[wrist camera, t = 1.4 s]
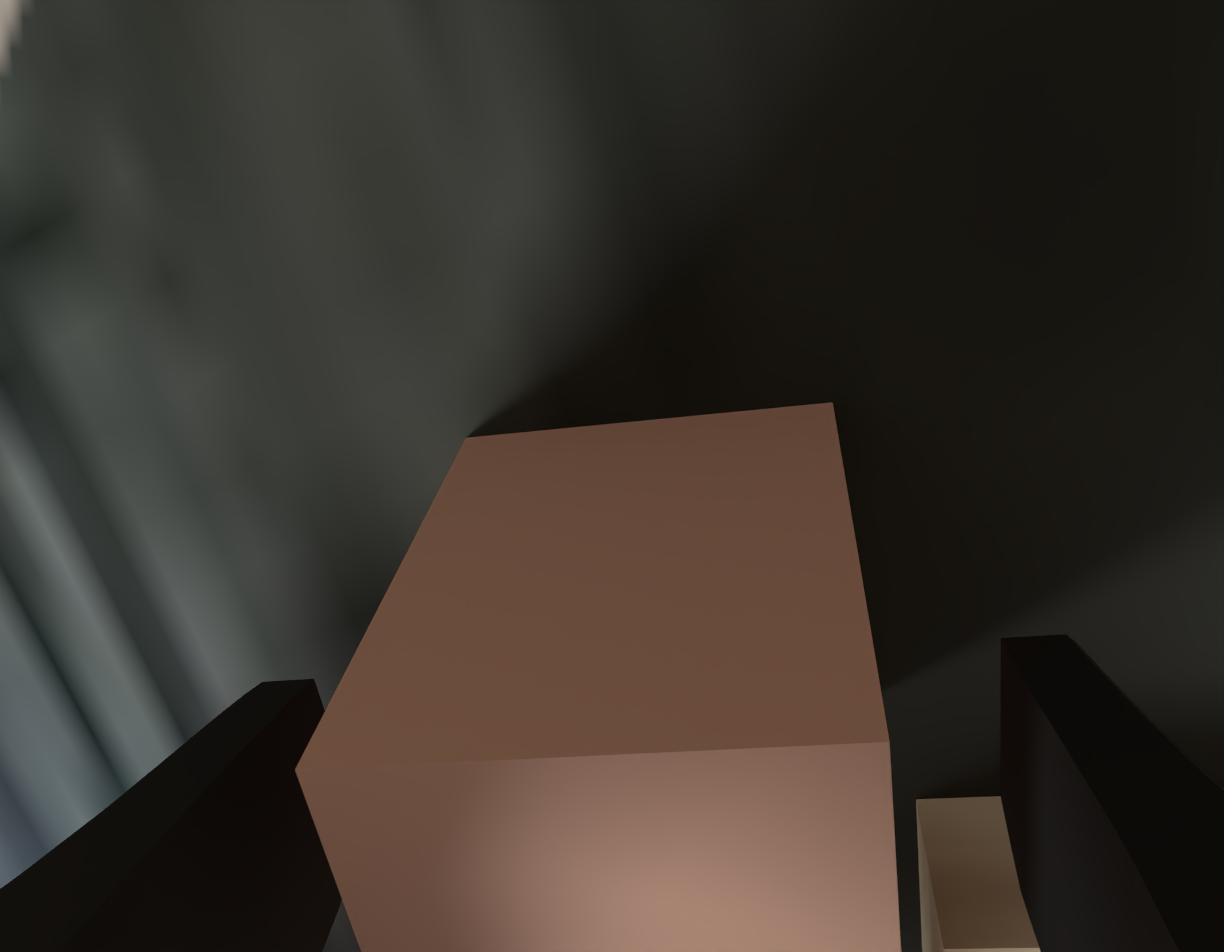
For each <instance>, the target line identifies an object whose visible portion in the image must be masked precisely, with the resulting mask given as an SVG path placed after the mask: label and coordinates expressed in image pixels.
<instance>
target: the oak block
mask: <svg viewBox="0 0 1224 952" xmlns="http://www.w3.org/2000/svg"><path fill="white" fill-rule="evenodd" d="M1223 789H1224V788H1223ZM916 811H917V835H918V860H919V885H920V909H921V934H922V952H1041V951H1040V948H1039V945H1038V942H1037V939H1036V936H1035V933H1034V930H1033V927H1032V924H1031V921H1030V918H1029V915H1028V912H1027V909H1026V906H1025V903H1024V900H1023V897H1022V894H1021V891H1020V886H1019V881H1018V877H1017V872H1016V868H1015V863H1014V859H1013V854H1012V850H1011V845H1010V840H1009V835H1008V830H1007V825H1006V821H1005V816H1004V811H1003V806H1002V801H1001V796H994V797H967V798H939V799H916Z"/></svg>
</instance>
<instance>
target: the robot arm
mask: <svg viewBox="0 0 1224 952" xmlns="http://www.w3.org/2000/svg"><path fill="white" fill-rule="evenodd" d="M324 712H325V710H324V707H323V704H322V701H321V698H320V695H319V693H318V690H317V687H316V684H315V681H314V679H304V680H287V681H270V682H262V683H260V684H259V685H257V686H256V687H255V688H253V689H252V690H250V691H249V692H248V693H246V694H245V695H244V696H242V697H241V698H240V699H238V700H237V701H236V702H235V703H233V704H232V705H231V706H229V707H228V708H227V709H226V710H224V711H223V712H222V713H221V714H220V715H218V716H217V717H216V718H215V719H213V720H212V721H211V722H210V723H209V724H207V725H206V726H205V727H204V728H203V729H201V730H200V731H199V732H198V733H196V734H195V735H194V736H193V737H192V738H190V739H189V740H188V741H187V742H186V743H184V744H183V745H182V746H181V747H180V748H178V749H177V750H176V751H175V752H174V753H173V754H171V755H170V756H169V757H168V758H166V759H165V760H164V761H163V762H162V763H160V764H159V765H158V766H157V767H156V768H154V769H153V770H152V771H151V772H150V773H148V774H147V775H146V776H145V777H143V778H142V779H141V780H140V781H139V782H137V783H136V784H135V785H134V786H133V787H131V788H130V789H129V790H128V791H126V792H125V793H124V794H123V795H122V796H120V797H119V798H118V799H117V800H116V801H114V802H113V803H112V804H111V805H109V806H108V807H107V808H106V809H105V810H103V811H102V812H101V813H99V814H98V815H97V816H96V817H94V818H93V819H92V820H90V821H89V822H88V823H86V824H85V825H84V826H83V827H81V828H80V829H79V830H77V831H76V832H75V833H73V834H72V835H71V836H70V837H68V838H67V839H66V840H64V841H63V842H62V843H60V844H59V845H58V846H57V847H55V848H54V849H53V850H51V851H50V852H49V853H47V854H46V855H45V856H44V857H42V858H41V859H40V860H38V861H37V862H36V863H34V864H33V865H32V866H31V867H29V868H28V869H27V870H25V871H24V872H23V873H21V874H20V875H19V876H17V877H16V878H15V879H13V880H12V881H11V882H9V883H8V884H6V885H5V886H4V887H2V888H1V889H0V952H322V950H323V948H324V945H325V943H326V940H327V938H328V935H329V933H330V930H331V928H332V925H333V922H334V920H335V917H336V914H337V912H338V909H339V907H340V903H341V899H342V898H341V895H340V892H339V890H338V887H337V884H336V881H335V879H334V876H333V873H332V870H331V868H330V865H329V862H328V859H327V857H326V854H325V851H324V848H323V846H322V843H321V840H320V837H319V835H318V832H317V829H316V826H315V824H314V821H313V818H312V815H311V813H310V810H309V807H308V804H307V802H306V799H305V796H304V794H303V791H302V788H301V785H300V783H299V780H298V777H297V774H296V772H295V769H296V767H297V765H298V763H299V761H300V759H301V757H302V755H303V753H304V751H305V749H306V747H307V745H308V743H309V742H310V740H311V738H312V736H313V734H314V732H315V730H316V728H317V726H318V724H319V722H320V720H321V718H322V716H323V714H324ZM1000 796H1001V801H1002V806H1003V811H1004V816H1005V821H1006V825H1007V830H1008V835H1009V840H1010V845H1011V850H1012V854H1013V859H1014V863H1015V868H1016V872H1017V877H1018V881H1019V886H1020V891H1021V894H1022V897H1023V900H1024V903H1025V906H1026V909H1027V912H1028V915H1029V918H1030V921H1031V924H1032V927H1033V930H1034V933H1035V936H1036V939H1037V942H1038V945H1039V948H1040V951H1041V952H1224V789H1223V788H1222V787H1221V786H1220V785H1219V784H1218V783H1217V782H1216V781H1215V780H1213V779H1212V778H1211V777H1210V776H1209V775H1208V774H1207V773H1206V772H1205V771H1204V770H1203V769H1202V768H1201V767H1199V766H1198V765H1197V764H1196V763H1195V762H1194V761H1193V760H1192V759H1191V758H1190V757H1189V756H1188V755H1187V754H1185V753H1184V752H1183V751H1182V750H1181V749H1180V748H1179V747H1178V746H1177V745H1176V744H1175V743H1174V742H1173V741H1172V740H1170V739H1169V738H1168V737H1167V736H1166V735H1165V734H1164V733H1163V732H1162V731H1161V730H1160V729H1159V728H1158V727H1157V726H1156V725H1155V724H1154V723H1153V722H1152V721H1151V720H1150V719H1149V718H1148V717H1147V716H1146V715H1145V714H1144V713H1143V712H1142V711H1141V710H1140V709H1139V708H1138V707H1137V706H1136V705H1135V704H1134V703H1133V702H1132V701H1131V700H1130V699H1129V698H1128V697H1127V696H1126V695H1125V694H1124V693H1123V692H1122V691H1121V690H1120V689H1119V687H1118V686H1117V685H1116V684H1115V683H1114V682H1113V681H1112V680H1111V679H1110V678H1109V677H1108V676H1107V675H1106V674H1105V673H1104V672H1103V671H1102V670H1101V669H1100V668H1099V666H1098V665H1097V664H1096V663H1095V662H1094V661H1093V660H1092V659H1091V658H1090V657H1089V656H1088V655H1087V654H1086V653H1085V651H1084V650H1083V649H1082V648H1081V647H1080V646H1079V645H1078V644H1077V643H1076V642H1075V641H1073V640H1072V639H1071V638H1070V637H1069V636H1067V635H1066V634H1065V635H1048V636H1031V637H1014V638H1001V774H1000Z"/></svg>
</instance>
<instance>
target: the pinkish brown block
mask: <svg viewBox="0 0 1224 952" xmlns="http://www.w3.org/2000/svg"><path fill="white" fill-rule="evenodd" d="M295 772H296V774H297V777H298V780H299V783H300V785H301V788H302V791H303V794H304V796H305V799H306V802H307V804H308V807H309V810H310V813H311V815H312V818H313V821H314V824H315V826H316V829H317V832H318V835H319V837H320V840H321V843H322V846H323V848H324V851H325V854H326V857H327V859H328V862H329V865H330V868H331V870H332V873H333V876H334V879H335V881H336V884H337V887H338V890H339V892H340V895H341V898H342V901H343V903H344V906H345V909H346V912H347V914H348V917H349V920H350V923H351V925H352V928H353V931H354V934H355V936H356V939H357V942H358V945H359V947H360V950H361V952H901V940H900V922H899V904H898V886H897V868H896V850H895V831H894V813H893V795H892V777H891V759H890V741H889V735H888V729H887V724H886V718H885V712H884V706H883V700H882V694H881V688H880V682H879V676H878V670H877V664H876V658H875V652H874V646H873V640H872V634H871V628H870V622H869V616H868V610H867V604H866V598H865V592H864V586H863V580H862V574H861V568H860V562H859V556H858V550H857V544H856V538H855V533H854V527H853V521H852V515H851V509H850V503H849V497H848V491H847V485H846V479H845V473H844V467H843V461H842V455H841V449H840V443H839V437H838V431H837V425H836V419H835V413H834V407H833V402H831V403H821V404H810V405H800V406H790V407H779V408H769V409H759V410H748V411H738V412H728V413H717V414H707V415H697V416H686V417H676V418H666V419H655V420H645V421H635V422H624V423H614V424H603V425H593V426H583V427H572V428H562V429H552V430H541V431H531V432H521V433H510V434H500V435H490V436H479V437H469V438H466V439H465V441H464V443H463V445H462V447H461V449H460V450H459V452H458V454H457V456H456V458H455V460H454V462H453V464H452V466H451V468H450V470H449V472H448V474H447V476H446V478H445V480H444V482H443V483H442V485H441V487H440V489H439V491H438V493H437V495H436V497H435V499H434V501H433V503H432V505H431V507H430V509H429V511H428V513H427V515H426V516H425V518H424V520H423V522H422V524H421V526H420V528H419V530H418V532H417V534H416V536H415V538H414V540H413V542H412V544H411V546H410V547H409V549H408V551H407V553H406V555H405V557H404V559H403V561H402V563H401V565H400V567H399V569H398V571H397V573H396V575H395V577H394V579H393V580H392V582H391V584H390V586H389V588H388V590H387V592H386V594H385V596H384V598H383V600H382V602H381V604H380V606H379V608H378V610H377V612H376V613H375V615H374V617H373V619H372V621H371V623H370V625H369V627H368V629H367V631H366V633H365V635H364V637H363V639H362V641H361V643H360V645H359V646H358V648H357V650H356V652H355V654H354V656H353V658H352V660H351V662H350V664H349V666H348V668H347V670H346V672H345V674H344V676H343V677H342V679H341V681H340V683H339V685H338V687H337V689H336V691H335V693H334V695H333V697H332V699H331V701H330V703H329V705H328V707H327V709H326V710H325V712H324V714H323V716H322V718H321V720H320V722H319V724H318V726H317V728H316V730H315V732H314V734H313V736H312V738H311V740H310V742H309V743H308V745H307V747H306V749H305V751H304V753H303V755H302V757H301V759H300V761H299V763H298V765H297V767H296V769H295Z"/></svg>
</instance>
